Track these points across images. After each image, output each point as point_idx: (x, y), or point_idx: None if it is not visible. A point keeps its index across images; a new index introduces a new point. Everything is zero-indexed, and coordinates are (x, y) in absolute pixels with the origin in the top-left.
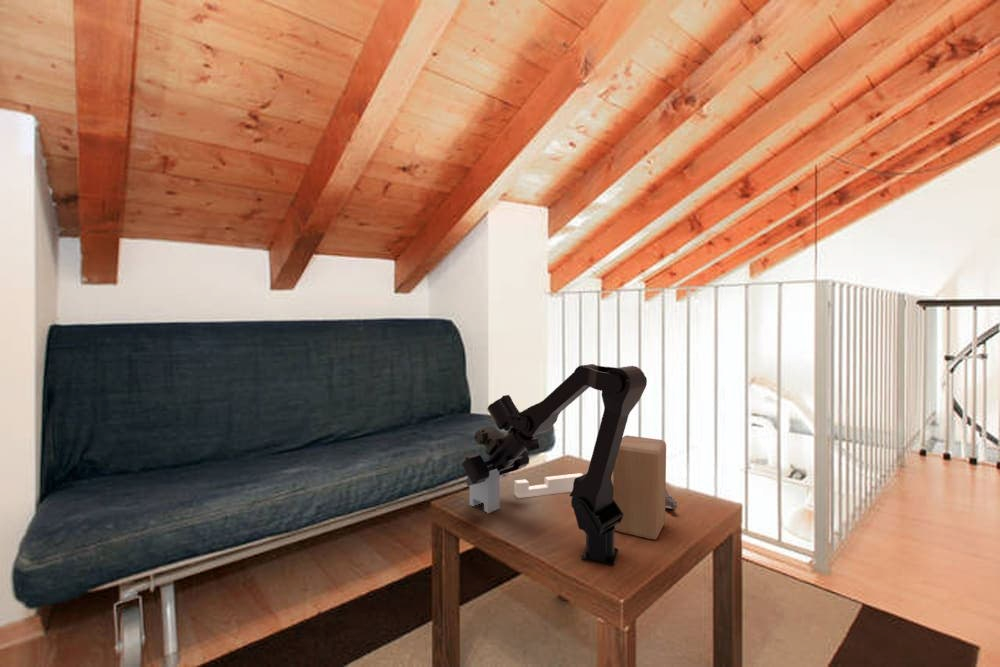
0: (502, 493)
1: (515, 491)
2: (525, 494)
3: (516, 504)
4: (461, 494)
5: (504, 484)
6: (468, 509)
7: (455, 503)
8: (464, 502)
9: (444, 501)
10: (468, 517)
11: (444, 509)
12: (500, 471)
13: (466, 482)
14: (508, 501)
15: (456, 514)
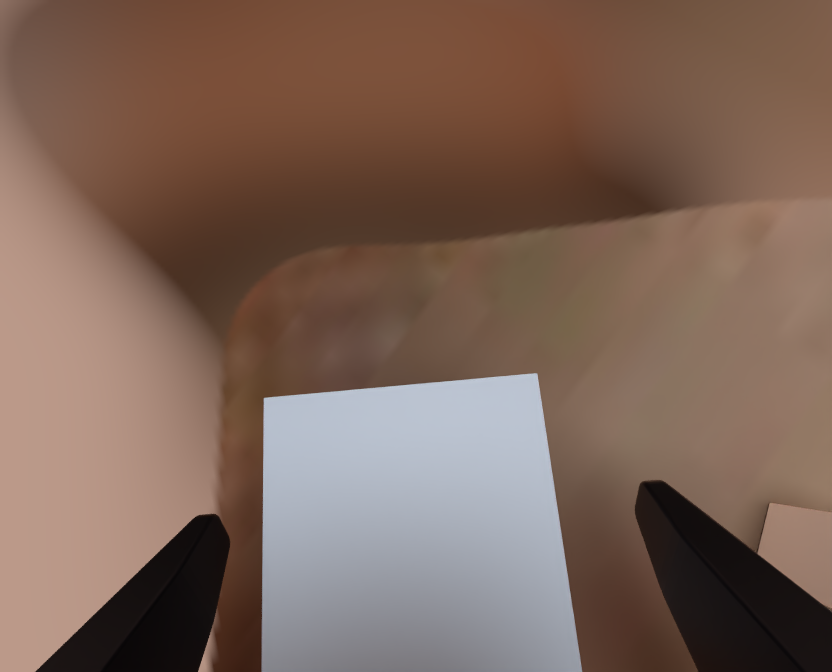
0: (702, 411)
1: (792, 529)
2: None
3: (672, 663)
4: (450, 247)
5: (817, 284)
6: None
7: (332, 341)
8: (385, 365)
9: (302, 273)
10: (252, 586)
11: (226, 373)
12: (719, 667)
13: (193, 527)
14: (652, 566)
15: (228, 488)
